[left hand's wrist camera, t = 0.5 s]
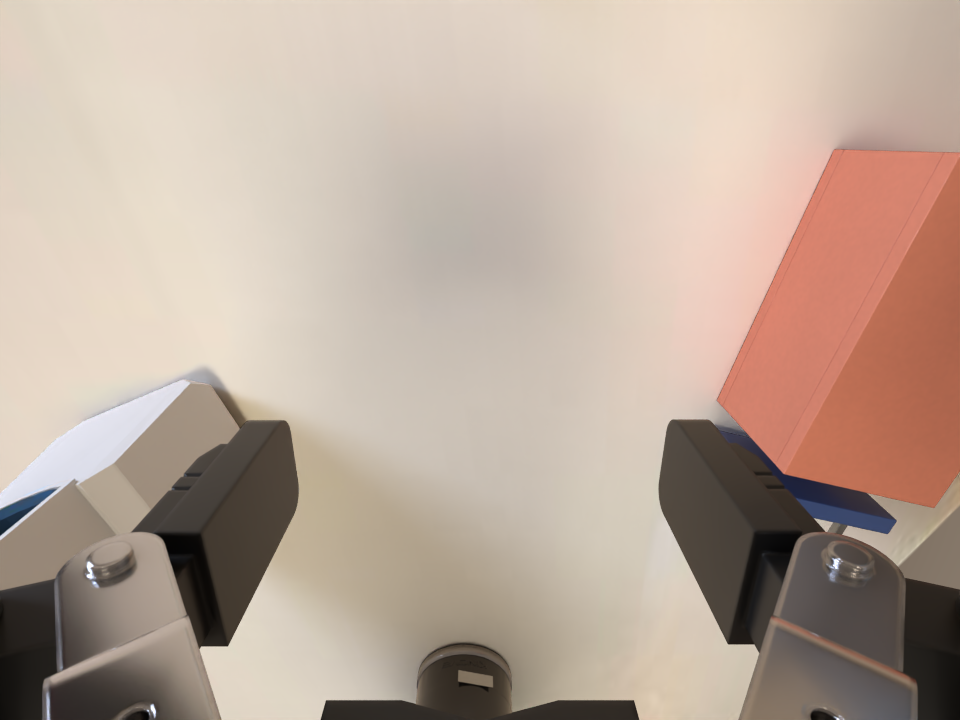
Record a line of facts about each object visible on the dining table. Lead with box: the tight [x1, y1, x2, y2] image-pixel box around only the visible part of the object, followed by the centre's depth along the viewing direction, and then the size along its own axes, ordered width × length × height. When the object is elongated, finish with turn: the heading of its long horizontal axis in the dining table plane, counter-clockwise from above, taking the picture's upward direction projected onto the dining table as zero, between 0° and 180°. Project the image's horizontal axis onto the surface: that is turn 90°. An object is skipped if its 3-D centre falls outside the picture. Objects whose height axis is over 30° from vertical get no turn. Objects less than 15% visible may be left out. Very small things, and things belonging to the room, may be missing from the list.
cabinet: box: [717, 149, 960, 508], centre depth 35 cm, size 19×10×10 cm, turn 166°
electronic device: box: [0, 379, 240, 590], centre depth 30 cm, size 12×8×30 cm, turn 113°
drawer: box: [720, 431, 896, 535], centre depth 37 cm, size 23×9×8 cm, turn 166°
